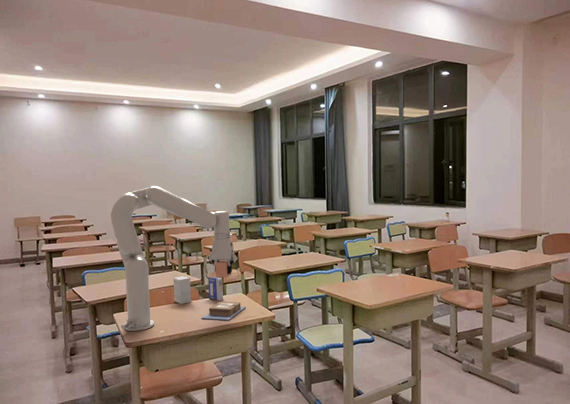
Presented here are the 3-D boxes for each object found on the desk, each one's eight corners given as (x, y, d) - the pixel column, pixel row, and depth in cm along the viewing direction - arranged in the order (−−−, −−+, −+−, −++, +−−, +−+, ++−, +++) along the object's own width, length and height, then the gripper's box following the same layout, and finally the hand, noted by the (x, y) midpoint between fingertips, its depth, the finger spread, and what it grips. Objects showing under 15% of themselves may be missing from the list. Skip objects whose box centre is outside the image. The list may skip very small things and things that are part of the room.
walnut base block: (230, 315, 191) (230, 309, 191) (209, 314, 194) (209, 308, 194) (240, 308, 203) (240, 302, 202) (220, 307, 206) (220, 301, 206)
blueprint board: (228, 320, 186) (228, 319, 186) (201, 318, 190) (201, 317, 190) (245, 308, 205) (245, 306, 205) (220, 306, 209) (220, 305, 209)
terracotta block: (226, 277, 194) (225, 262, 194) (216, 276, 196) (215, 262, 196) (231, 274, 200) (230, 260, 199) (221, 274, 201) (220, 260, 201)
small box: (191, 301, 220) (190, 278, 220) (180, 304, 216) (179, 280, 216) (184, 299, 226) (183, 275, 226) (174, 301, 222) (173, 277, 222)
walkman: (209, 298, 225) (208, 277, 224) (212, 297, 227) (211, 276, 227) (219, 300, 221) (218, 278, 220) (223, 299, 223) (222, 277, 223)
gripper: (241, 235, 198) (242, 272, 199) (209, 235, 203) (211, 271, 204) (235, 237, 191) (236, 275, 192) (202, 237, 196) (204, 274, 197)
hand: (223, 273), depth 198 cm, fingers closed on terracotta block, 5 cm apart
